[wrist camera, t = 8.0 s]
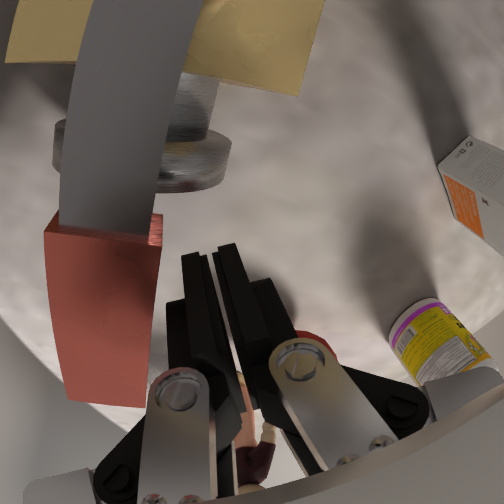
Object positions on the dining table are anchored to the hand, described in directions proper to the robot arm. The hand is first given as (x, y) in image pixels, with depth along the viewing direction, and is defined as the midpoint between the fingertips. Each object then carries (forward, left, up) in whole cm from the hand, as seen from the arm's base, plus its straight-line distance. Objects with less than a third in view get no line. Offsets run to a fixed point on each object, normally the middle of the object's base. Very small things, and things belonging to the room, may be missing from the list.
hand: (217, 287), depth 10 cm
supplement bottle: (+9, +22, -8) cm, 25 cm away
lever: (-4, -3, 0) cm, 6 cm away
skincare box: (-5, +19, -8) cm, 21 cm away
